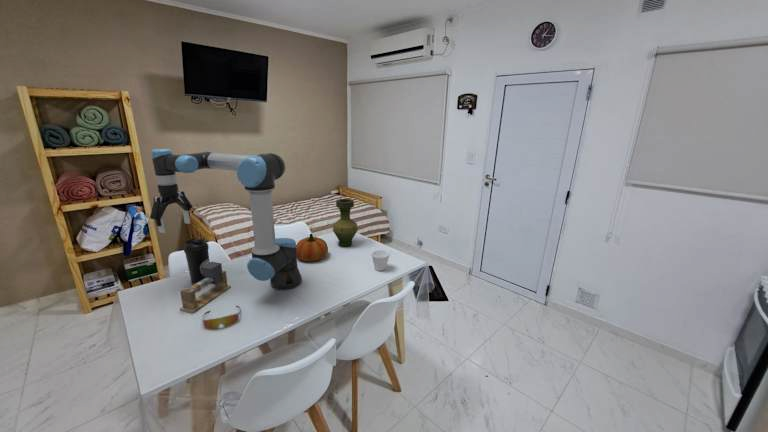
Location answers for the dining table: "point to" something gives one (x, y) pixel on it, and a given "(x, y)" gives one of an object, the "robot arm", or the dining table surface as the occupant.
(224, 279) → the rail
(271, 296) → the dining table surface
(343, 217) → the vase
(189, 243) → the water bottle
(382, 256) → the cup
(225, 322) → the sunglasses
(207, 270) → the collar
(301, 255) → the pumpkin
